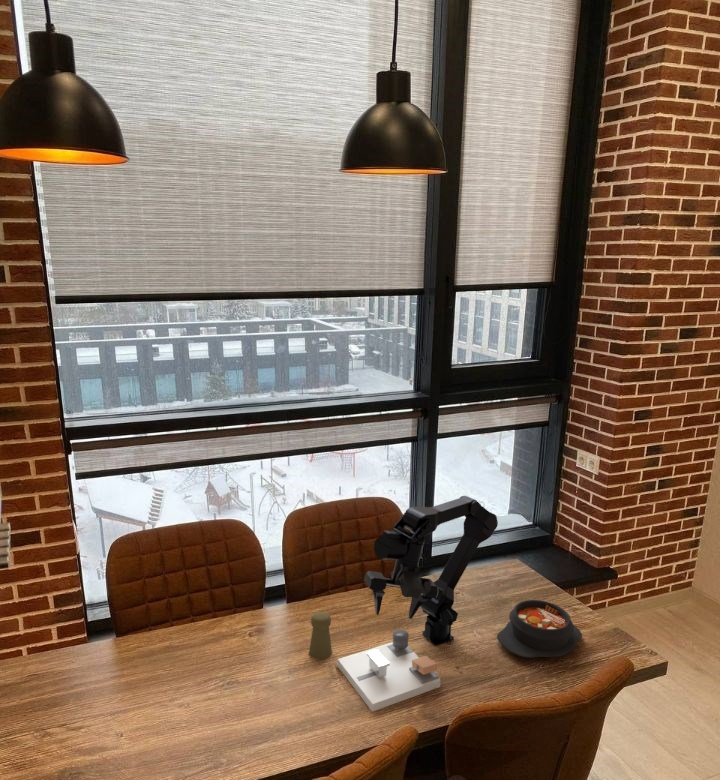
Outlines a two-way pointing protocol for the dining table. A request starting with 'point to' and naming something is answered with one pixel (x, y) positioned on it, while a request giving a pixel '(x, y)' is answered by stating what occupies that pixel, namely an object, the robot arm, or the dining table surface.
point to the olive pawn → (320, 636)
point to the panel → (387, 677)
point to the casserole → (539, 630)
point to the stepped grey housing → (378, 663)
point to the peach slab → (424, 665)
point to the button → (400, 639)
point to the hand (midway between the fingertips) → (393, 616)
